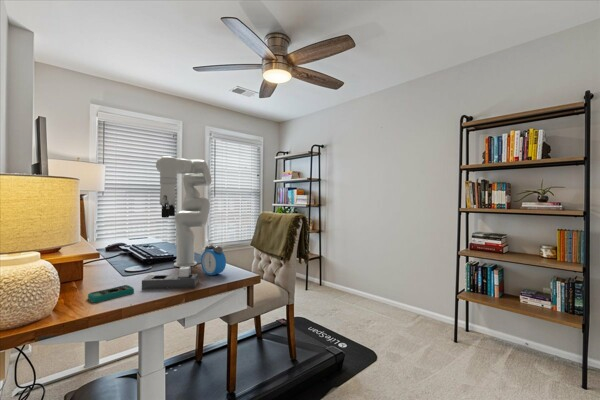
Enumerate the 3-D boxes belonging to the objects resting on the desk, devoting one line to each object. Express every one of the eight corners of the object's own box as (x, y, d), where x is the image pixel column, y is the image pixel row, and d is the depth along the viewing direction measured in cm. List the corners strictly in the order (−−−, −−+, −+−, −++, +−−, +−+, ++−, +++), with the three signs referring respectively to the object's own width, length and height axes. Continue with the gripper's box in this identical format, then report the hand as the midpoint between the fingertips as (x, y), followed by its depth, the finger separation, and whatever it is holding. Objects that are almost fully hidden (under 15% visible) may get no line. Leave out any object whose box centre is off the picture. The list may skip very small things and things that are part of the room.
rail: (148, 283, 132) (148, 275, 132) (198, 282, 136) (198, 273, 136) (141, 289, 125) (141, 280, 124) (194, 287, 128) (194, 278, 128)
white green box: (181, 281, 133) (181, 266, 133) (190, 281, 133) (190, 266, 133) (179, 284, 129) (179, 269, 129) (188, 284, 129) (188, 268, 129)
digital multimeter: (135, 294, 121) (135, 287, 120) (94, 304, 109) (94, 296, 109) (127, 290, 125) (127, 283, 125) (87, 300, 113) (87, 292, 113)
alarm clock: (200, 273, 150) (200, 245, 150) (210, 271, 156) (210, 243, 155) (217, 277, 143) (217, 247, 143) (226, 275, 148) (226, 246, 148)
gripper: (165, 182, 149) (165, 215, 150) (154, 181, 132) (154, 218, 133) (181, 182, 150) (181, 215, 151) (171, 181, 133) (171, 218, 134)
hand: (168, 216), depth 142 cm, fingers open, 9 cm apart
